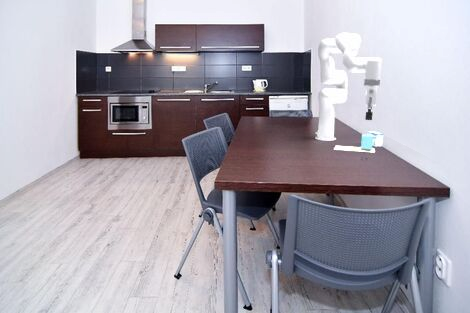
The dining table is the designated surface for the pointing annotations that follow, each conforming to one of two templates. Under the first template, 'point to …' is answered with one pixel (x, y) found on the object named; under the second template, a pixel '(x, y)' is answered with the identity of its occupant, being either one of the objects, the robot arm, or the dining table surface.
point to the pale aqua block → (367, 142)
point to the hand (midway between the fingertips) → (368, 119)
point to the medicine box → (376, 138)
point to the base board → (353, 149)
